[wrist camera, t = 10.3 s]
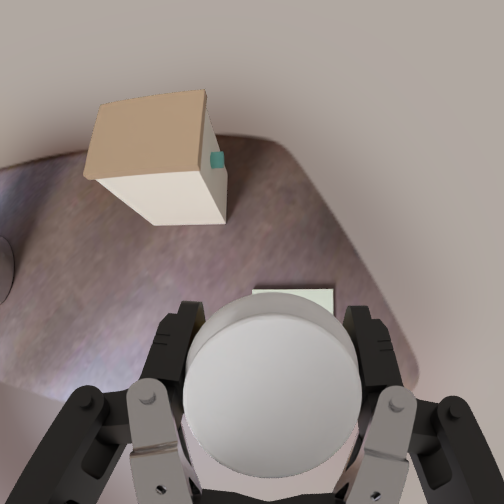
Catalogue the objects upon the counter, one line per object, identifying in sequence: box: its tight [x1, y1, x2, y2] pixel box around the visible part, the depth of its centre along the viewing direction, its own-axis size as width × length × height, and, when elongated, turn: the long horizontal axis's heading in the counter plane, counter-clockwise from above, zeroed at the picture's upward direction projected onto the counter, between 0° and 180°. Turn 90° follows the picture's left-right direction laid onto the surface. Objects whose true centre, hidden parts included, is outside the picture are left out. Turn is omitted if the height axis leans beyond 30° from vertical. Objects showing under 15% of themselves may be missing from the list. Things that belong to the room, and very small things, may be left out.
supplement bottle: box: [183, 292, 362, 478], centre depth 11 cm, size 5×5×10 cm
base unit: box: [83, 89, 228, 226], centre depth 24 cm, size 8×5×13 cm
